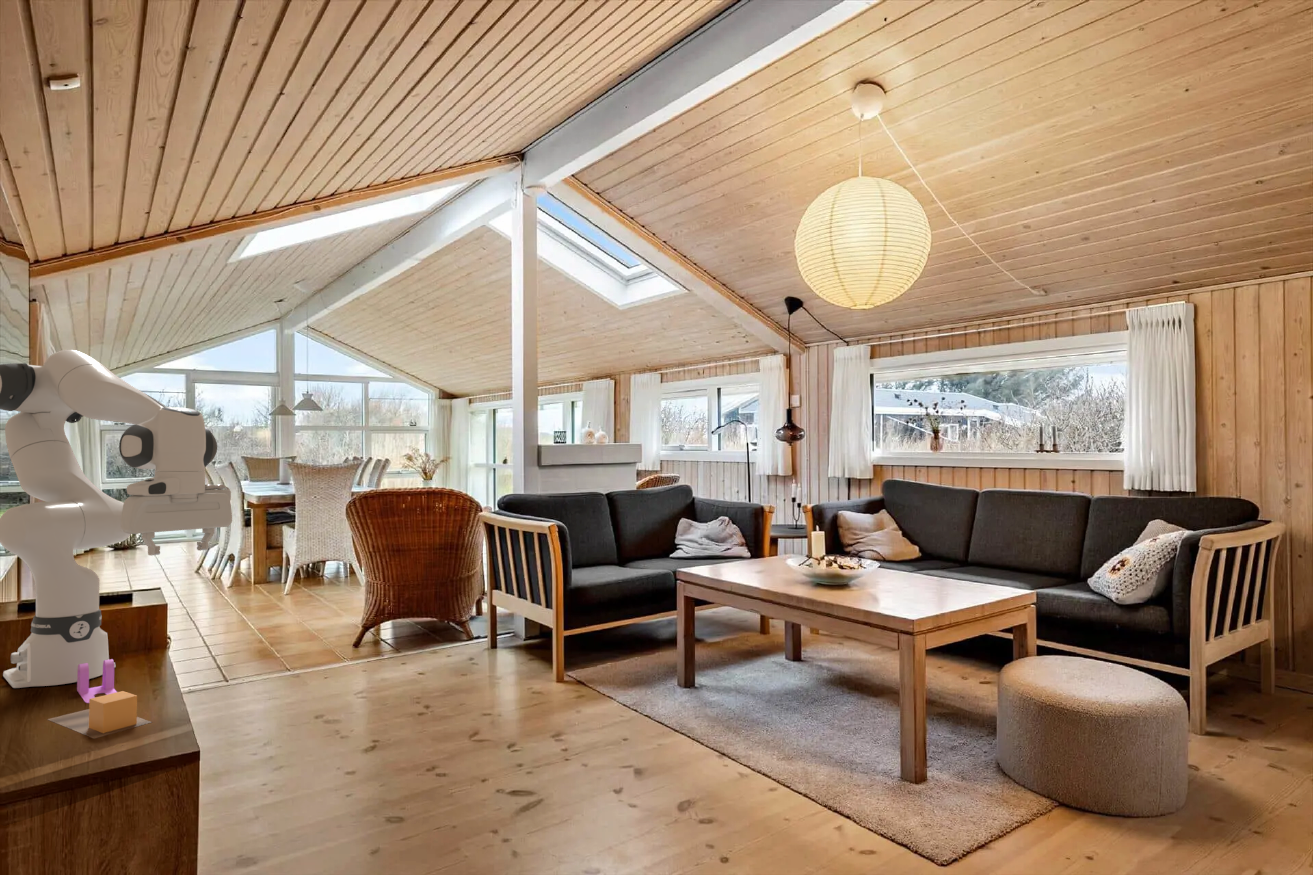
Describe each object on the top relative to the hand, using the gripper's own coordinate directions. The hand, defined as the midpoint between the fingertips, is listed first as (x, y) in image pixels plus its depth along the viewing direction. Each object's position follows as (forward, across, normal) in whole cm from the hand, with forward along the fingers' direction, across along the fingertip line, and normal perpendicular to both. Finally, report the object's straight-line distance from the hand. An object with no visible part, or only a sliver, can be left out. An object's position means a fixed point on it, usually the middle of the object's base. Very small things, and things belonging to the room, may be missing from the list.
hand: (178, 552), depth 154 cm
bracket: (+30, +10, -10) cm, 32 cm away
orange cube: (+28, +17, +13) cm, 35 cm away
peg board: (+29, +17, +8) cm, 35 cm away
